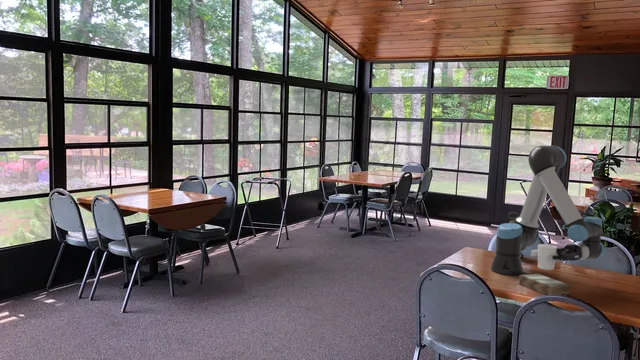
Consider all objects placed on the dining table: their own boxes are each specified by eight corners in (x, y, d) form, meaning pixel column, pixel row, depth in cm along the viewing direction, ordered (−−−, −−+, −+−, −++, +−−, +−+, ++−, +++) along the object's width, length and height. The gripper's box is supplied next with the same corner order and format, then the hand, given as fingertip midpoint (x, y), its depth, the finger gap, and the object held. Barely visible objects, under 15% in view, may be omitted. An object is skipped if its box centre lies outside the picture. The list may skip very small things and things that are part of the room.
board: (518, 284, 238) (519, 274, 238) (536, 281, 243) (537, 273, 242) (550, 296, 222) (551, 286, 221) (569, 294, 226) (569, 284, 226)
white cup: (557, 271, 227) (559, 248, 226) (538, 269, 228) (540, 247, 227) (552, 266, 234) (554, 244, 233) (534, 265, 236) (535, 243, 235)
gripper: (594, 265, 229) (556, 269, 220) (556, 254, 247) (520, 258, 238) (596, 249, 228) (558, 252, 219) (558, 239, 247) (521, 242, 237)
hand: (538, 255), depth 229 cm, fingers closed on white cup, 8 cm apart
